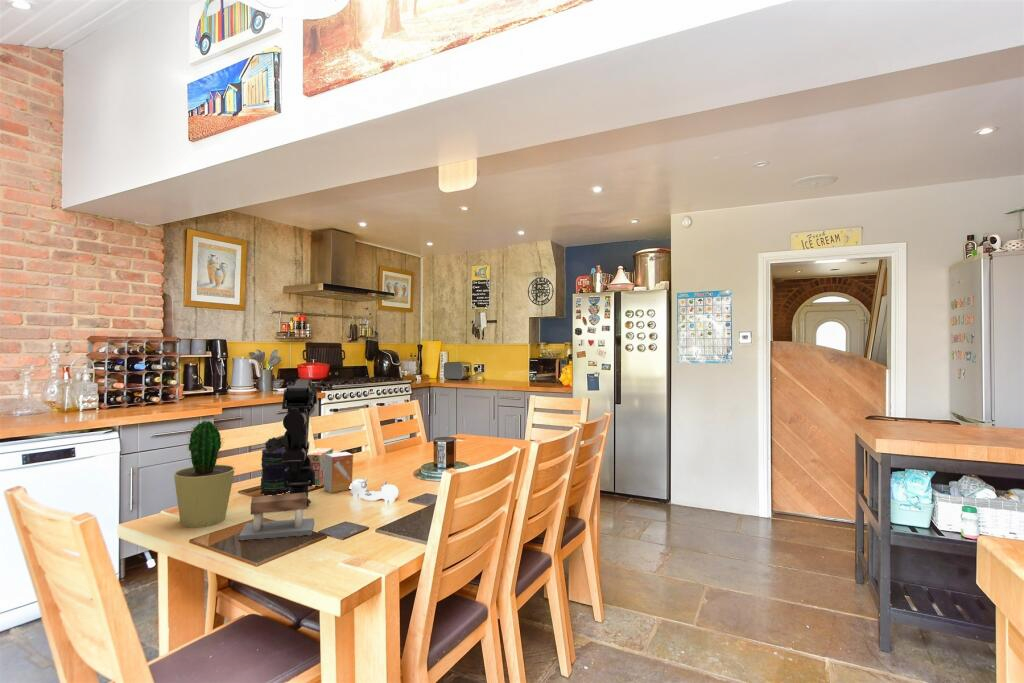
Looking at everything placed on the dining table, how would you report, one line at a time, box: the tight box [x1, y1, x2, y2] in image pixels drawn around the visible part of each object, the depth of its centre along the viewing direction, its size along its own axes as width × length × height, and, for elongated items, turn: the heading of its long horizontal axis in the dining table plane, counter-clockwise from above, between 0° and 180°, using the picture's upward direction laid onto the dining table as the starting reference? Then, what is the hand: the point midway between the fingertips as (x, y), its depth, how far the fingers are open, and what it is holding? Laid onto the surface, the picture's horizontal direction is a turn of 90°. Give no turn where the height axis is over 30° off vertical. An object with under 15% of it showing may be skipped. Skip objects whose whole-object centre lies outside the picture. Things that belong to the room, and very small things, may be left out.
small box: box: [323, 451, 354, 494], centre depth 183 cm, size 8×6×13 cm
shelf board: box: [250, 492, 308, 516], centre depth 141 cm, size 14×6×3 cm, turn 115°
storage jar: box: [260, 447, 290, 496], centre depth 179 cm, size 10×10×15 cm
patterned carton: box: [307, 447, 342, 485], centre depth 197 cm, size 21×6×12 cm, turn 178°
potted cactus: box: [173, 420, 236, 528], centre depth 148 cm, size 15×15×30 cm
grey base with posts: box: [238, 509, 315, 541], centre depth 141 cm, size 10×18×6 cm, turn 108°
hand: (295, 478), depth 152 cm, fingers open, 9 cm apart
